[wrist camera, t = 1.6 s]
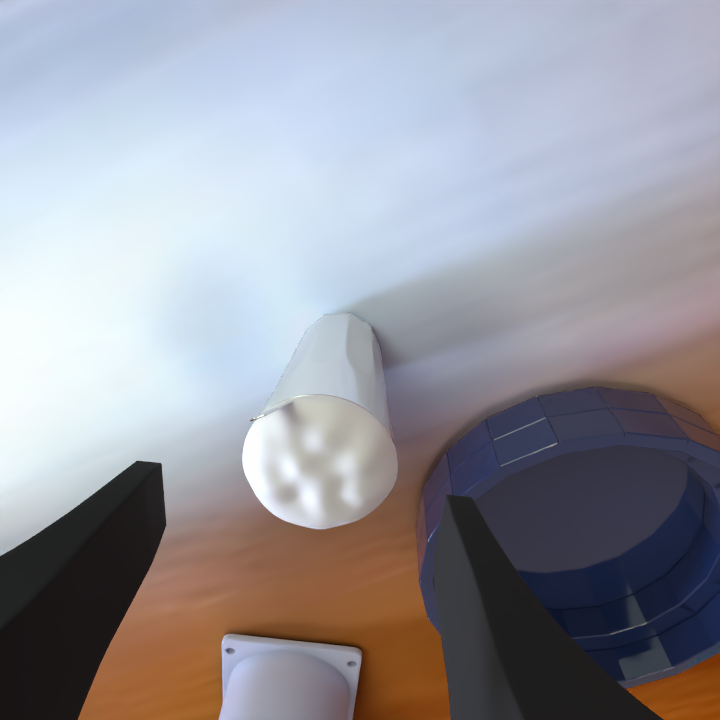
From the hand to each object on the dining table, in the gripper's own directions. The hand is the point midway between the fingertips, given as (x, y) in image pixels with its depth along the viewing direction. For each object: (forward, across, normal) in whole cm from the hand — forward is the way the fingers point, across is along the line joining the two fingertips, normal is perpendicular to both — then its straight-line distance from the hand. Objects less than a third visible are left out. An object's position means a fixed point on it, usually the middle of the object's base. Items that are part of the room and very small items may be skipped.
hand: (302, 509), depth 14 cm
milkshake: (+11, 0, 0) cm, 11 cm away
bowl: (+10, -12, +8) cm, 18 cm away
